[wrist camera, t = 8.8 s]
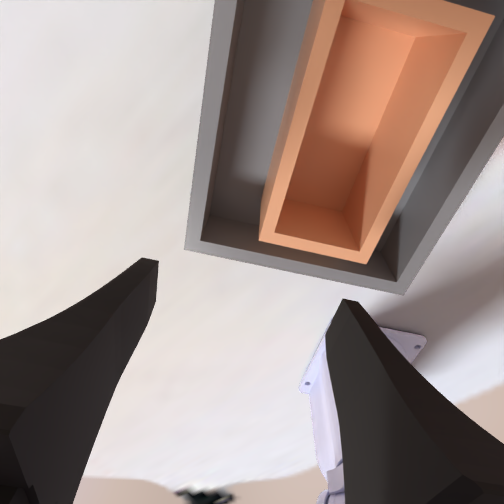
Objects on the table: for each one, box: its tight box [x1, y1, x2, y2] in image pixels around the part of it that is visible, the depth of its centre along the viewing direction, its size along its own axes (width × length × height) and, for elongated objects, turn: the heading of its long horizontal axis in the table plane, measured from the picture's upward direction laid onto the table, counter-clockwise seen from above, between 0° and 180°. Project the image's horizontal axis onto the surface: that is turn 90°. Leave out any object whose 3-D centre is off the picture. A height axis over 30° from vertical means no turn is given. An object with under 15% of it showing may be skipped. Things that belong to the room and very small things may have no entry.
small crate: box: [259, 0, 495, 264], centre depth 15 cm, size 10×5×5 cm, turn 167°
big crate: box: [184, 0, 504, 295], centre depth 16 cm, size 15×13×4 cm
